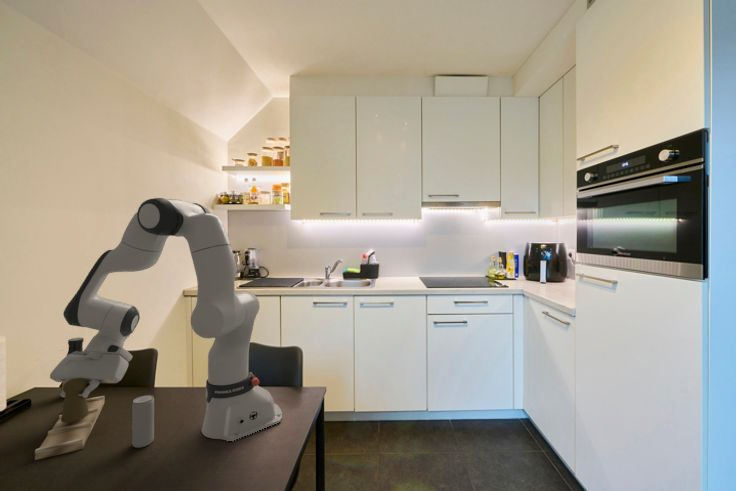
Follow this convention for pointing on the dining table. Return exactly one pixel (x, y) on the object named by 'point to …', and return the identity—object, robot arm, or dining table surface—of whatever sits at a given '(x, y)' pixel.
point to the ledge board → (70, 432)
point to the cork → (74, 401)
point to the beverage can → (142, 421)
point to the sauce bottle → (74, 347)
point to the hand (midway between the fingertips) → (73, 396)
